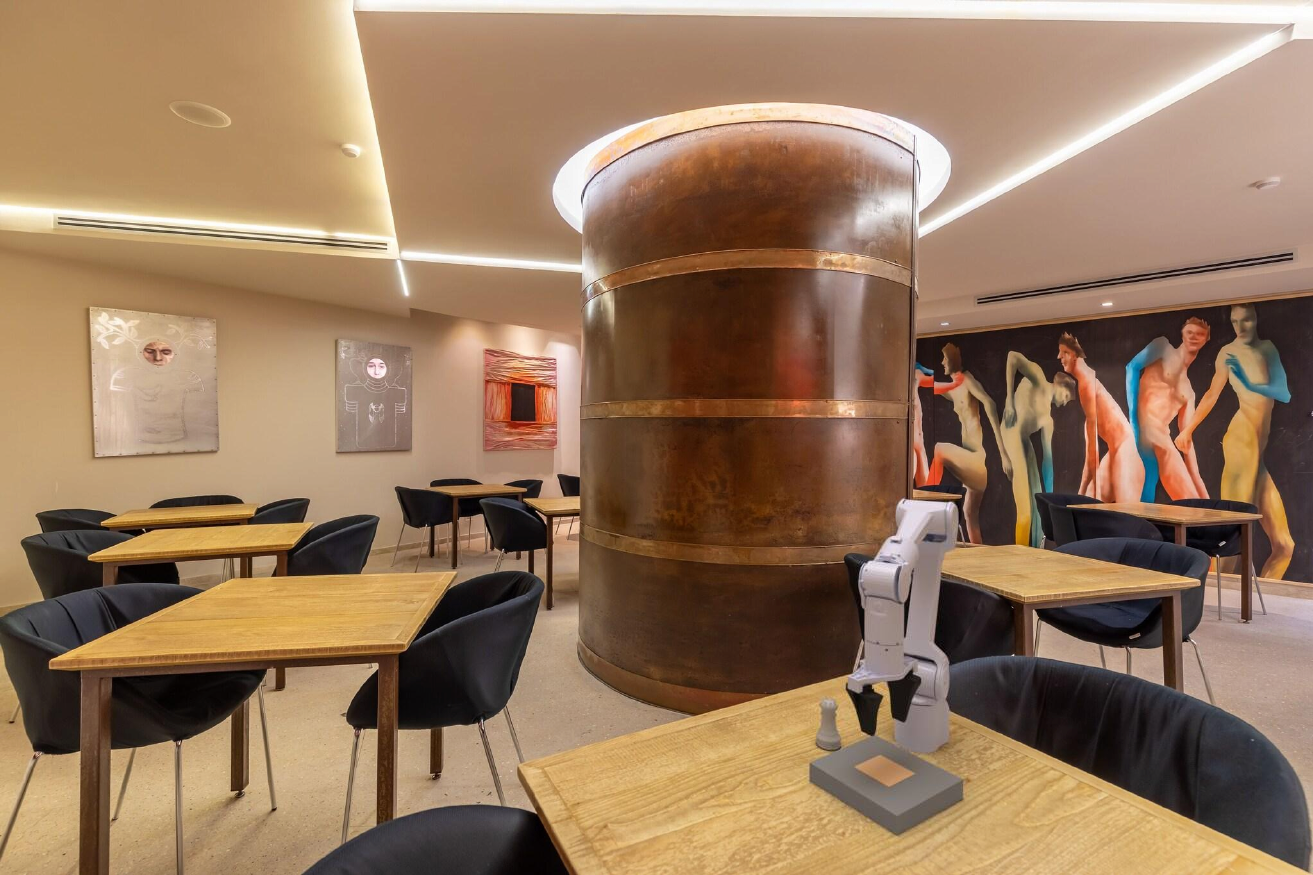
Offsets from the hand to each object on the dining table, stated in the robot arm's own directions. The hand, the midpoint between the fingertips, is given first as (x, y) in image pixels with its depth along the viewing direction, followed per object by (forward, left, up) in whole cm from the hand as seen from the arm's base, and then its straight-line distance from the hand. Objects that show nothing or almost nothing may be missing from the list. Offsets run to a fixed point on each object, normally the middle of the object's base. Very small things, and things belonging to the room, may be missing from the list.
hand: (883, 726), depth 95 cm
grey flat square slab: (0, 0, -10) cm, 10 cm away
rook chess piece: (-3, -14, -10) cm, 17 cm away
